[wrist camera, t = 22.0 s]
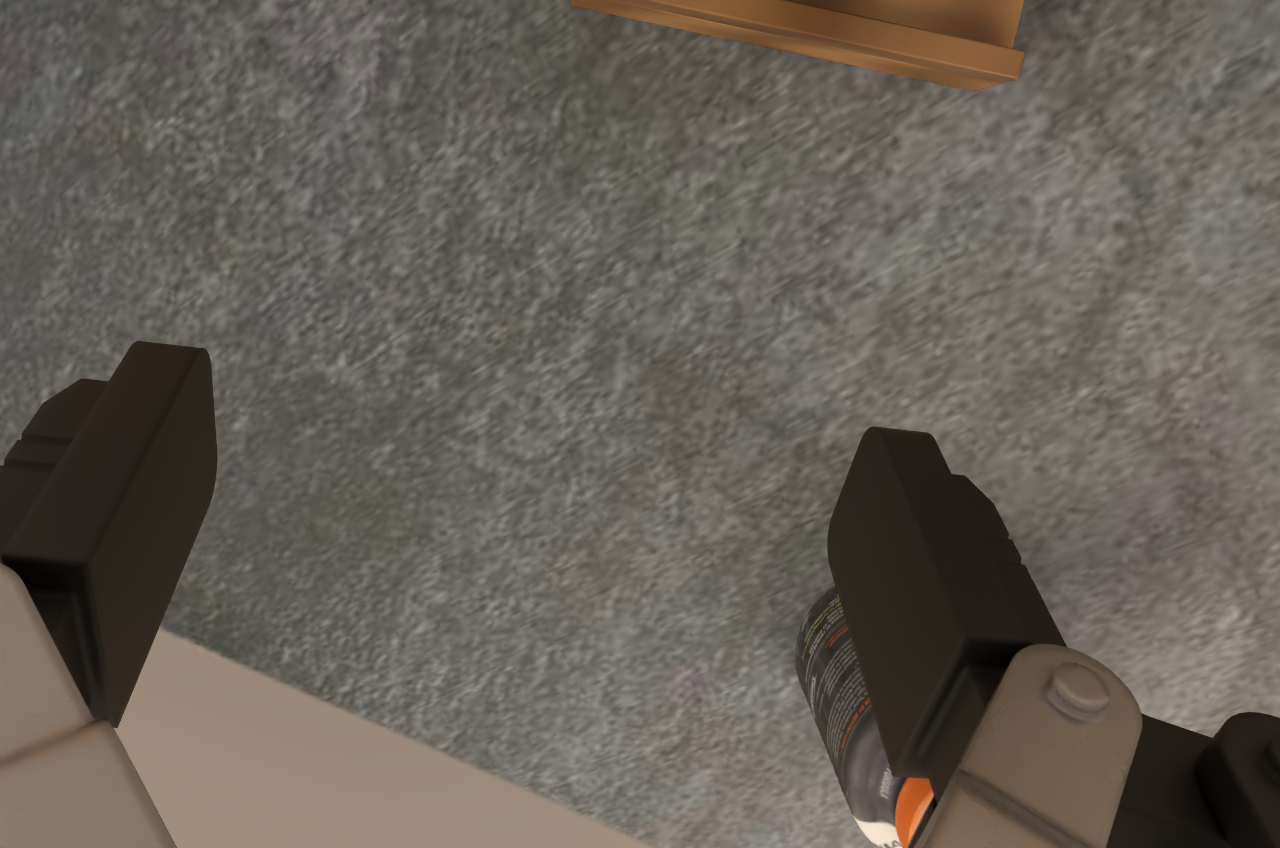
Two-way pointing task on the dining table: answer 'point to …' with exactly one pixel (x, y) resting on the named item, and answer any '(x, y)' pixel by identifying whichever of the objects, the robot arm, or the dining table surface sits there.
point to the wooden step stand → (858, 32)
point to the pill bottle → (854, 729)
